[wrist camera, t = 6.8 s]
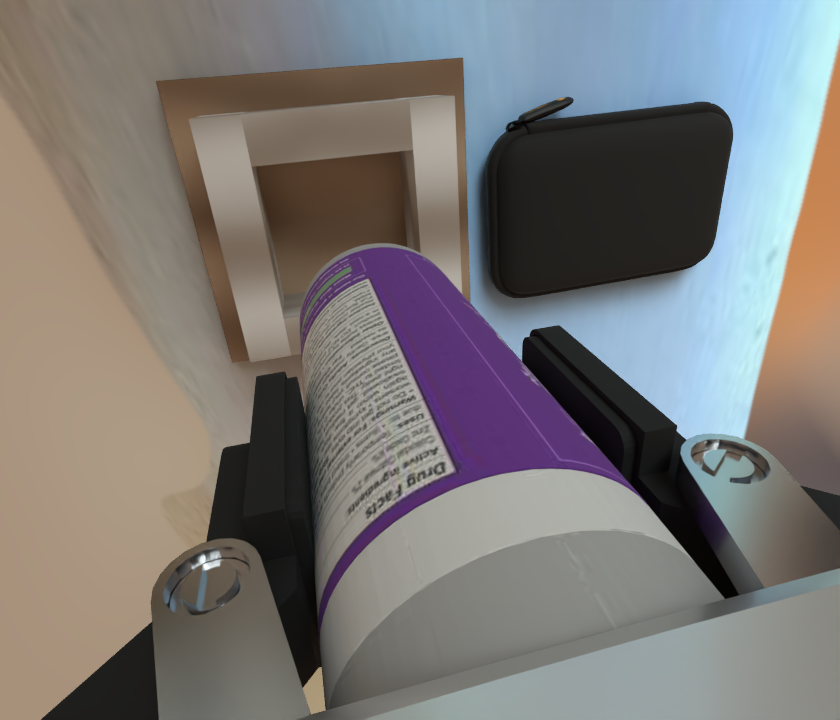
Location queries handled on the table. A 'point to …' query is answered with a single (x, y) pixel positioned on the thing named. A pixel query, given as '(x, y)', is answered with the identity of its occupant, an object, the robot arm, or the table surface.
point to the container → (456, 491)
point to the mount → (317, 181)
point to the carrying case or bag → (603, 195)
